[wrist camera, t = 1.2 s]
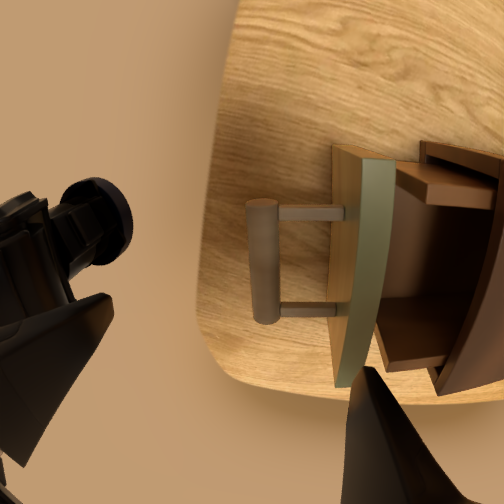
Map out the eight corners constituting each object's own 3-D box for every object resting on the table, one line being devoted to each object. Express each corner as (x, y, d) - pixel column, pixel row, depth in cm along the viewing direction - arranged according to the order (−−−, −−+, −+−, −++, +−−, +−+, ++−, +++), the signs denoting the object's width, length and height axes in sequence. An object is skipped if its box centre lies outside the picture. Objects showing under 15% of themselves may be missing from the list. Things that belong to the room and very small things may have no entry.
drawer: (262, 307, 19) (248, 387, 13) (253, 145, 15) (225, 159, 9) (475, 300, 17) (516, 358, 10) (504, 165, 12) (573, 193, 6)
